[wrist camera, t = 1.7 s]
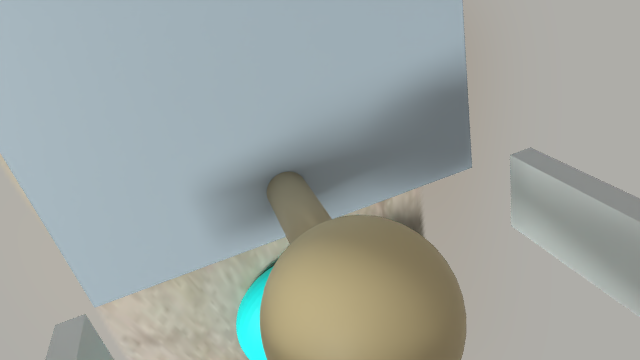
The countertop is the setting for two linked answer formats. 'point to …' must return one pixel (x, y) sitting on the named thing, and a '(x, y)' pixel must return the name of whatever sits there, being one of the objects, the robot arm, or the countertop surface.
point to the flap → (247, 154)
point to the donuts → (252, 319)
